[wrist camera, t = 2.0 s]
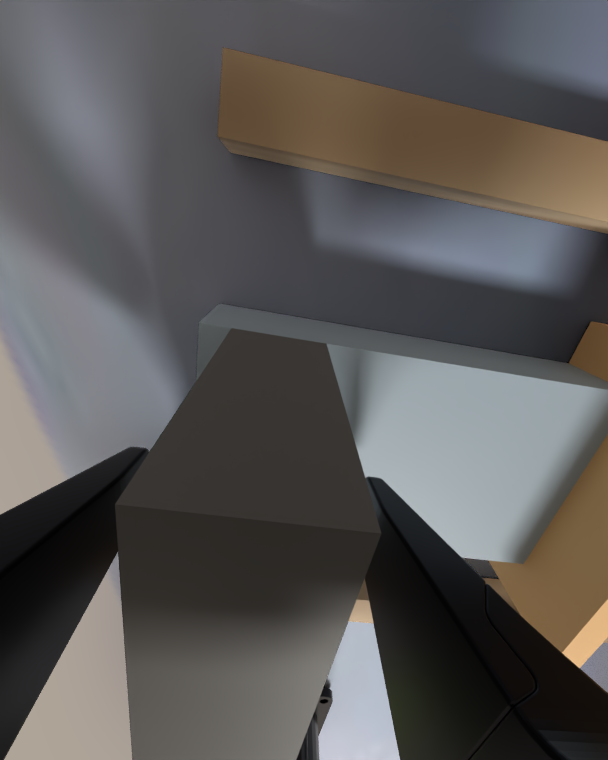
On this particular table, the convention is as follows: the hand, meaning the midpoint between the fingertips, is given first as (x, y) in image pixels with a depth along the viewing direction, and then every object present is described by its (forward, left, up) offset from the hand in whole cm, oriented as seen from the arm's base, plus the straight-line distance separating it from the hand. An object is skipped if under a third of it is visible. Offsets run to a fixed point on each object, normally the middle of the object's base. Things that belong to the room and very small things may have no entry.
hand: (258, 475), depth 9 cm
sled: (0, -4, -4) cm, 6 cm away
